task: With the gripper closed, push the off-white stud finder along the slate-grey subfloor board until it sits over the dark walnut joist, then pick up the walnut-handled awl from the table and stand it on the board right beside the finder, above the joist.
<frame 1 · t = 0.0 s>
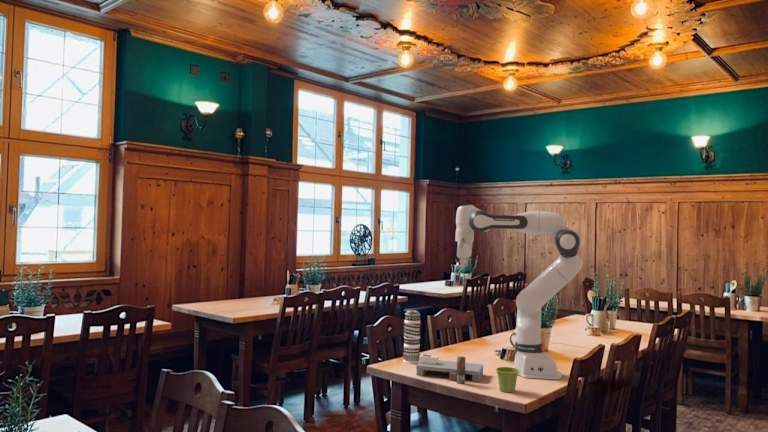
hand: (463, 266, 276), 48 cm above the table, tool pointing down, fingers open, 8 cm apart
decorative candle: (411, 361, 283), on the table
plant pot: (507, 391, 236), on the table
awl: (460, 383, 246), on the table
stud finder: (428, 359, 262), point 6 cm above the table, slide at 0.0 cm
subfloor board: (449, 375, 259), on the table
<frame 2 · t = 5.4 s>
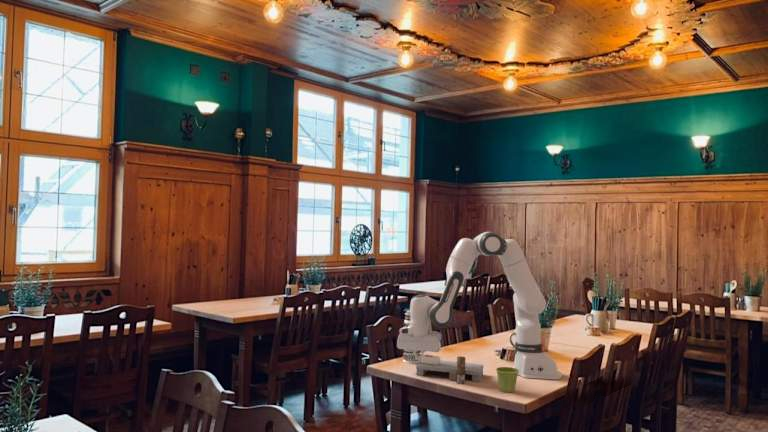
hand: (418, 360, 264), 5 cm above the table, tool pointing down, fingers closed
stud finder: (430, 359, 262), point 6 cm above the table, slide at 1.0 cm, touching gripper
everything else where it was.
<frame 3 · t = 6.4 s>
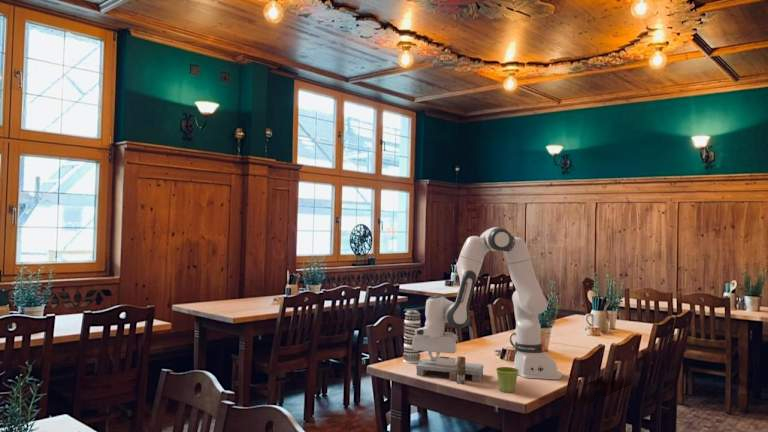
hand: (434, 361, 261), 5 cm above the table, tool pointing down, fingers closed
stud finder: (446, 360, 259), point 6 cm above the table, slide at 8.2 cm, touching gripper
everything else where it was.
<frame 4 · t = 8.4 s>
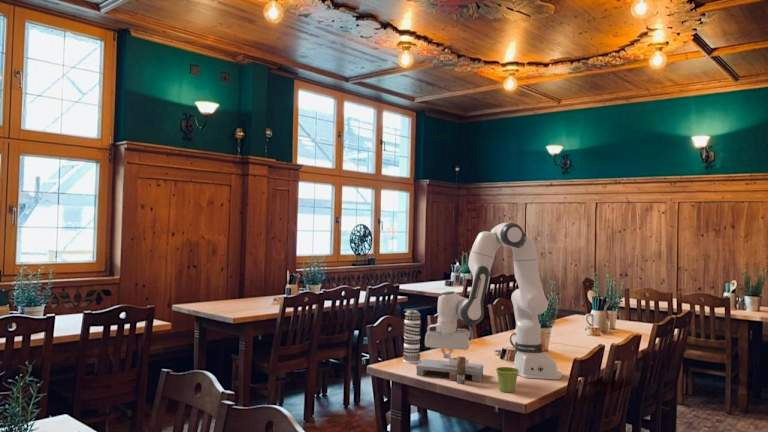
hand: (447, 358, 260), 7 cm above the table, tool pointing down, fingers closed
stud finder: (458, 362, 258), point 6 cm above the table, slide at 14.0 cm
everything else where it was.
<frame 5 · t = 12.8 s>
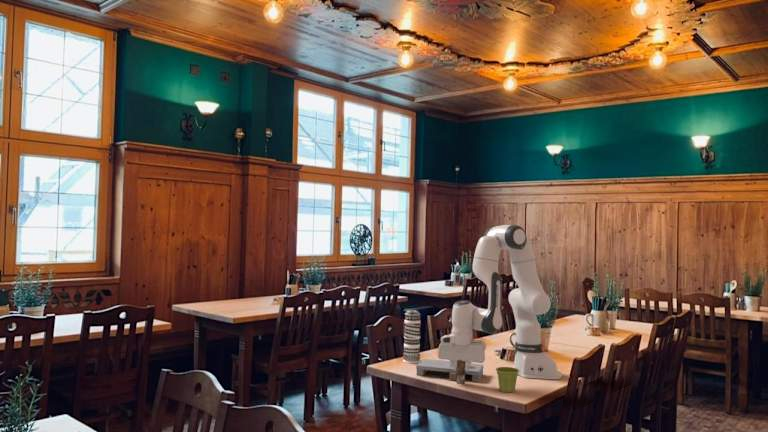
hand: (460, 371, 246), 5 cm above the table, tool pointing down, fingers closed on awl, 4 cm apart
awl: (460, 383, 246), on the table, touching gripper
everything else where it was.
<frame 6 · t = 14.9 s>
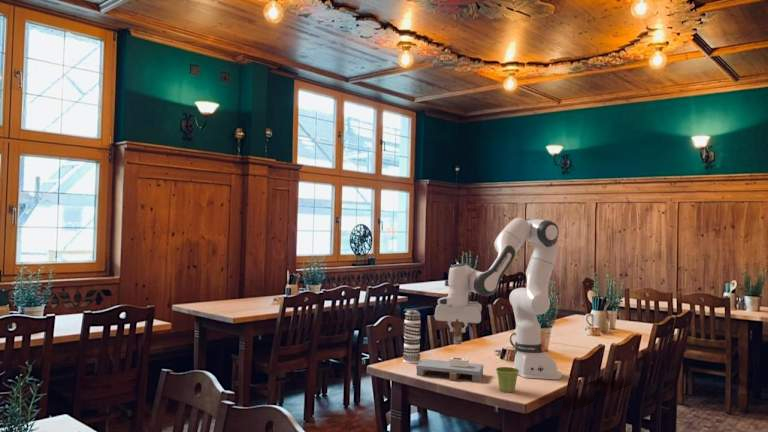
hand: (457, 332, 251), 21 cm above the table, tool pointing down, fingers closed on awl, 4 cm apart
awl: (457, 343, 251), point 16 cm above the table, touching gripper
everything else where it was.
when the fingers open (11 cm above the table, at t = 17.3 s): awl drops 1 cm, resting on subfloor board.
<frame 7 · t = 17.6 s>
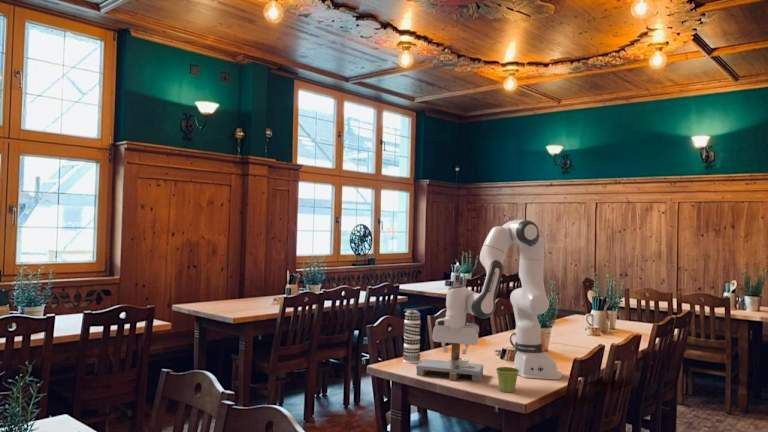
hand: (454, 353, 253), 11 cm above the table, tool pointing down, fingers open, 7 cm apart
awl: (454, 368, 253), point 5 cm above the table, touching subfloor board
everything else where it was.
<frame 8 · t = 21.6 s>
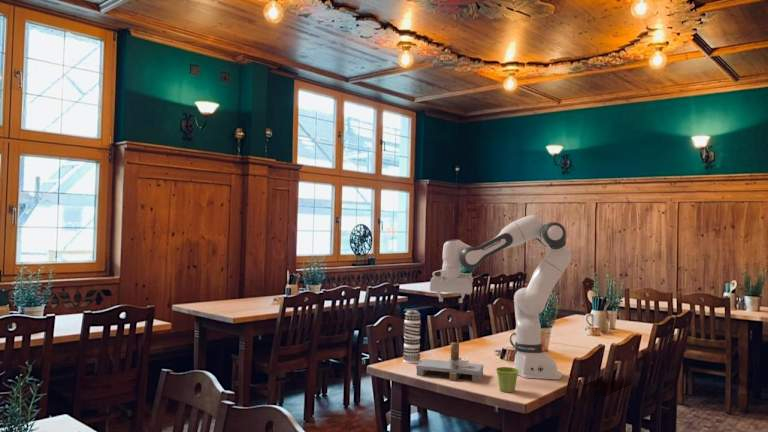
hand: (450, 302, 273), 31 cm above the table, tool pointing down, fingers open, 8 cm apart
nothing on the table moved.
at the end: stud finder slide at 14.0 cm; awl 0.1 cm from the target spot, point 4.6 cm above the table; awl tilted 2° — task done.
